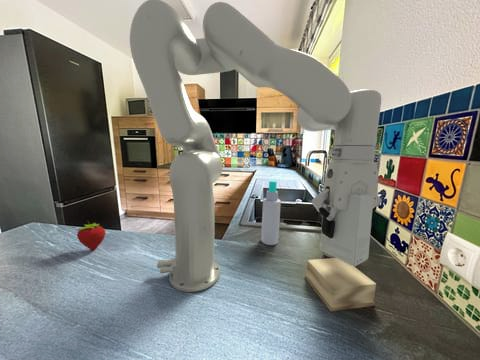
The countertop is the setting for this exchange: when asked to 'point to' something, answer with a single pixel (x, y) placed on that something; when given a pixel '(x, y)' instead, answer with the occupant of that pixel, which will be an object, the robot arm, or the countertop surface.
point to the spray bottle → (271, 216)
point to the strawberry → (91, 235)
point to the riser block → (340, 284)
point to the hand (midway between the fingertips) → (343, 234)
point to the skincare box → (351, 231)
